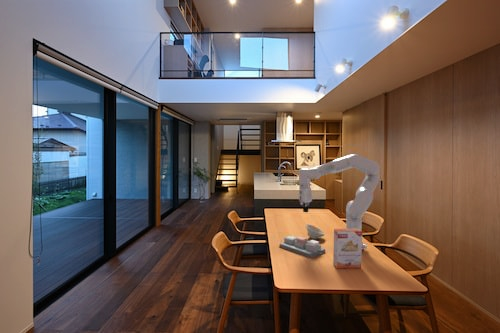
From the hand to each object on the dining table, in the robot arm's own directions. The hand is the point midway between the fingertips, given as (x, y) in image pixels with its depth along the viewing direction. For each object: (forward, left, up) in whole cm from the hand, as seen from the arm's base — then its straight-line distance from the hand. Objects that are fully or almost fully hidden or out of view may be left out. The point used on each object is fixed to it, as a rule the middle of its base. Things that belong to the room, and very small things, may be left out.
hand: (305, 211), depth 180 cm
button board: (-5, +11, -22) cm, 26 cm away
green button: (+4, +11, -20) cm, 23 cm away
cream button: (-14, +11, -18) cm, 26 cm away
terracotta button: (-5, +11, -18) cm, 22 cm away
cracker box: (-38, +13, -23) cm, 46 cm away
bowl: (+2, -14, -23) cm, 27 cm away
